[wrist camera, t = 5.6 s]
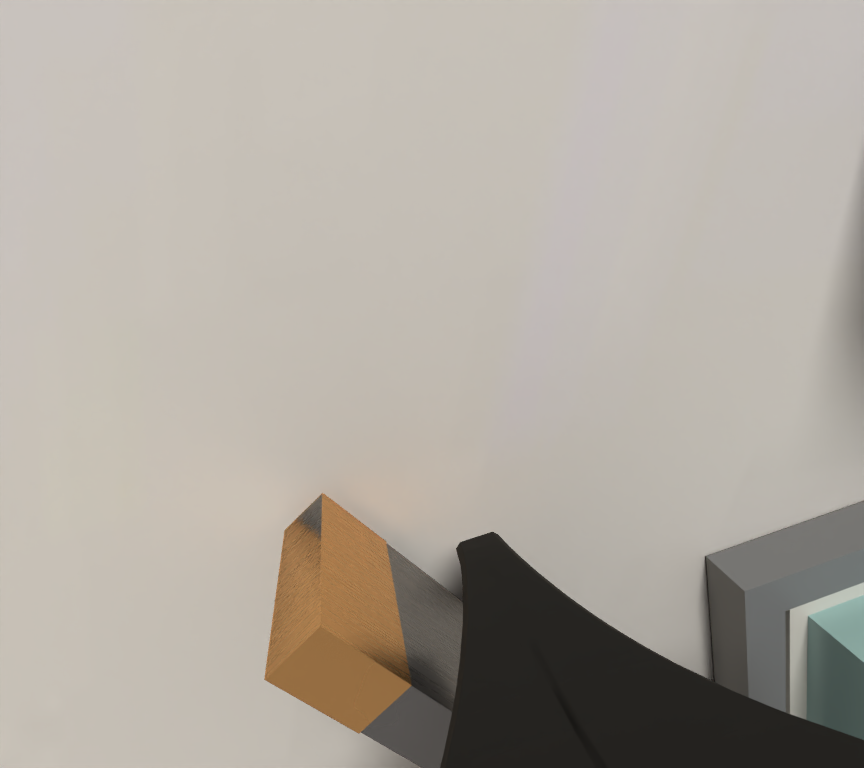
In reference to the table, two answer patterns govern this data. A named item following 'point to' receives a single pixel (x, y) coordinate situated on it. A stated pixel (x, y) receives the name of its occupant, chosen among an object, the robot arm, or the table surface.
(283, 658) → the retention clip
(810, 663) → the plug
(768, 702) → the dock
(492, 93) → the table surface
